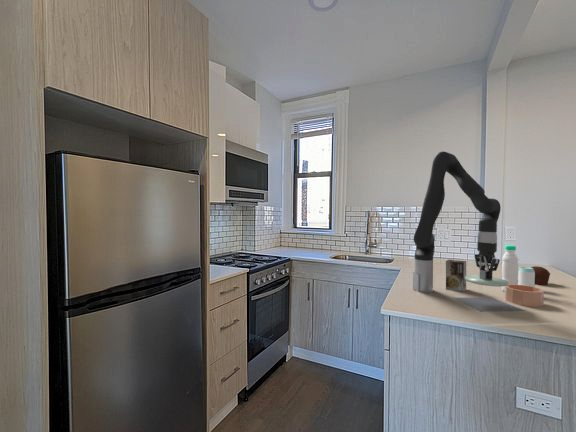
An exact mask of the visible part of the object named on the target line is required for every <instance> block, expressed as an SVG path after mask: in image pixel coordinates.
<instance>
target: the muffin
mask: <svg viewBox="0 0 576 432" xmlns="http://www.w3.org/2000/svg"><path fill="white" fill-rule="evenodd" d="M530 268H533V270H534V271H535V285H537V286H548V285H549V284H548V283H549V281H550V276H551V272H550V271H549V270H548V269H546V268H544V267H543V266H530Z"/></svg>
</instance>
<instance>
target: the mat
mask: <svg viewBox="0 0 576 432" xmlns="http://www.w3.org/2000/svg"><path fill="white" fill-rule="evenodd" d="M453 299H454V300H456V301H458V302H461V303H462V304H464V305H466V306H469V307H470V308H472V309H475V310H477V311H479V312H524V311H526V310H524V309H523V308H520V307H516V306H514V305H512V304H509V303H507V302H504V301H502V300H499V299H497V298H495V297H492V296H480V297H479V296H474V297H473V296H471V297H470V296H469V297H468V296H467V297H465V296H464V297H453Z"/></svg>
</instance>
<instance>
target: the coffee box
mask: <svg viewBox="0 0 576 432" xmlns="http://www.w3.org/2000/svg"><path fill="white" fill-rule="evenodd" d="M465 276H467V261H466V260H457V259H447V260H445V290H448V291H459V292H465V291H467V281H466V280H465Z"/></svg>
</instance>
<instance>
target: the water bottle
mask: <svg viewBox="0 0 576 432" xmlns="http://www.w3.org/2000/svg"><path fill="white" fill-rule="evenodd" d="M504 250H505V252H504V254H503V256H502V258H501V260H502V261H501V262H502V265H501V275H502V278H501V279H503V280H506V281H508V282H509V283H508V284H517V285H518V277H519V257H518V256H517V254H516V250H517V246H515V245H512V244H511V245H508V244H506V245H505V246H504ZM501 291H503V292H505V286H502V287H501Z"/></svg>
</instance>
